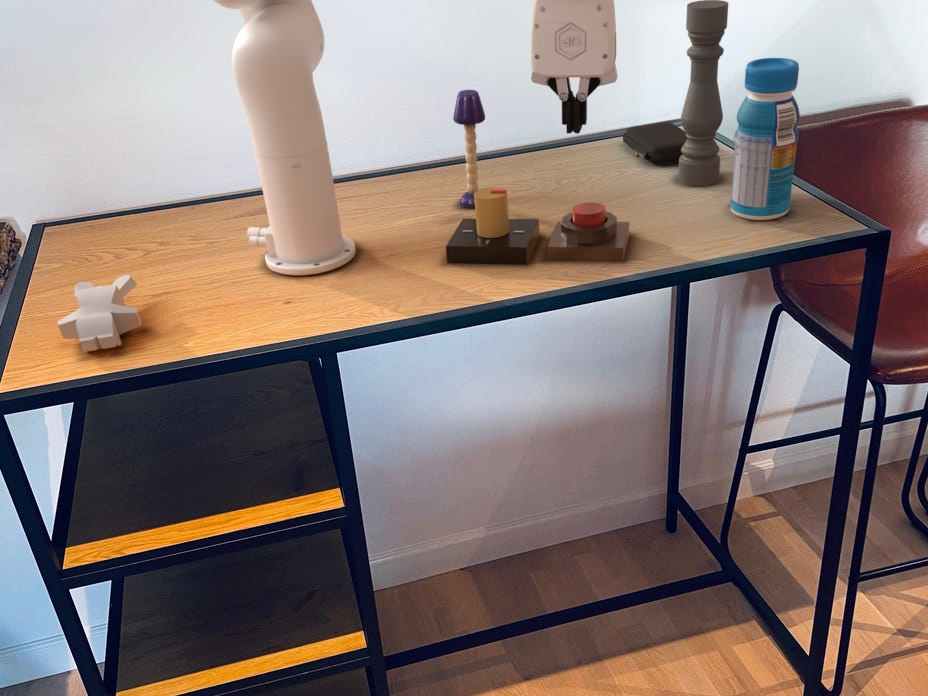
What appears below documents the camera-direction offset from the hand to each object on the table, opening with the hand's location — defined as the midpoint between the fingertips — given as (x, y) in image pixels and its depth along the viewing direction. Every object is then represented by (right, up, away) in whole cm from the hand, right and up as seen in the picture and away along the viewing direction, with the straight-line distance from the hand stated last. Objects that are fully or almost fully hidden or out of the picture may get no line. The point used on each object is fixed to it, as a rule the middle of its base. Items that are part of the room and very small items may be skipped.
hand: (574, 130), depth 127 cm
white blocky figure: (-59, -26, -2) cm, 65 cm away
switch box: (+3, -13, +8) cm, 16 cm away
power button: (+2, -10, +6) cm, 12 cm away
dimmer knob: (-10, -11, +8) cm, 17 cm away
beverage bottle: (+28, -7, +14) cm, 32 cm away
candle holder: (+22, +1, +26) cm, 34 cm away
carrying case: (+18, +9, +38) cm, 43 cm away
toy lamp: (-13, -3, +25) cm, 28 cm away
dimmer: (-10, -13, +10) cm, 19 cm away
